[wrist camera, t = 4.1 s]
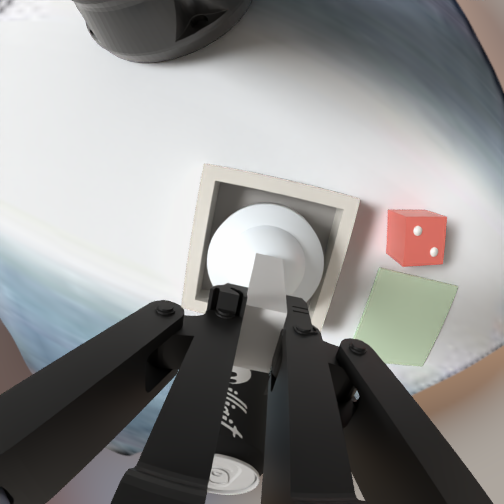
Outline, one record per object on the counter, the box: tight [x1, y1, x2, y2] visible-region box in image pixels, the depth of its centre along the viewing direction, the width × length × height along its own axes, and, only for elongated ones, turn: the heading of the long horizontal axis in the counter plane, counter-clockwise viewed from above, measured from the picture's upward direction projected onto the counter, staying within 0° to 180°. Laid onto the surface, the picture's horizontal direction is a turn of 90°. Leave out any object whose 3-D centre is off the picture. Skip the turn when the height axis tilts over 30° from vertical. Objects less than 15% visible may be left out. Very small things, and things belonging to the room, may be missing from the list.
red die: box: [386, 210, 447, 267], centre depth 20 cm, size 4×4×4 cm
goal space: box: [353, 267, 458, 366], centre depth 24 cm, size 9×9×1 cm
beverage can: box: [207, 366, 270, 495], centre depth 21 cm, size 7×7×12 cm
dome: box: [207, 202, 324, 302], centre depth 19 cm, size 8×8×5 cm
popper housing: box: [181, 164, 360, 332], centre depth 22 cm, size 11×11×2 cm
